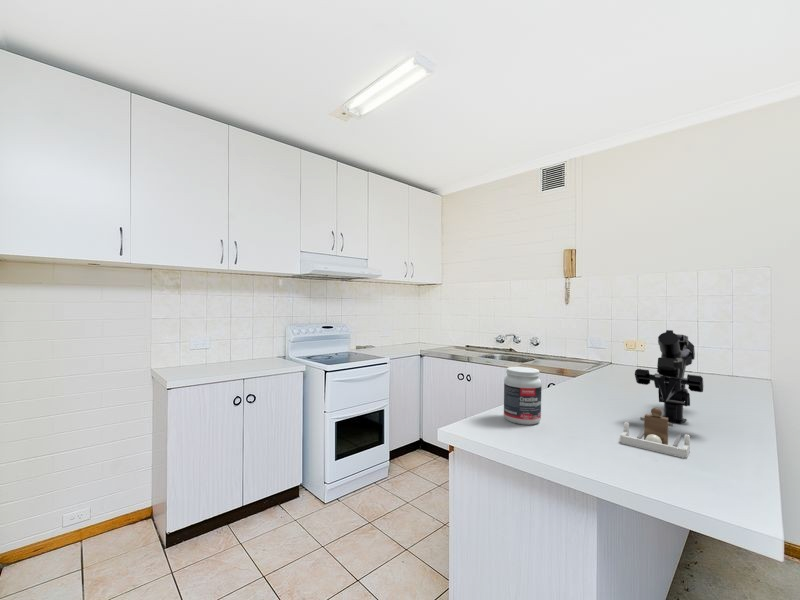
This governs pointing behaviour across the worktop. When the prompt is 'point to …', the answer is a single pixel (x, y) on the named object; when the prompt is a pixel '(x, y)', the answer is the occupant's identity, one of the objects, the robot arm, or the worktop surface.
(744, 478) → the worktop surface
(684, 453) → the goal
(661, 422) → the figure
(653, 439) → the ball
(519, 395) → the supplement tub
